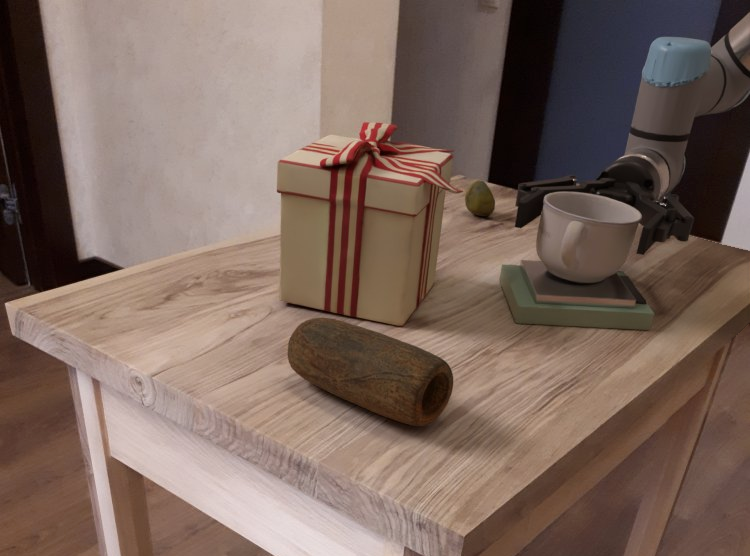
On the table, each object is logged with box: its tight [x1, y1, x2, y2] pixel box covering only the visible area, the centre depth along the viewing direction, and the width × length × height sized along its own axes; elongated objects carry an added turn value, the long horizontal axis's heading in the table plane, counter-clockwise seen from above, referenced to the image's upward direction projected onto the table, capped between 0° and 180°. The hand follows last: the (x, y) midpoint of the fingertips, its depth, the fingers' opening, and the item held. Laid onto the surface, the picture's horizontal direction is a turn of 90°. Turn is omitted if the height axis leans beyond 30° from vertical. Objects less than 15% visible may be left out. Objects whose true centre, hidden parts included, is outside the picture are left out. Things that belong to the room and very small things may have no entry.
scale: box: [499, 264, 655, 331], centre depth 92 cm, size 15×13×2 cm
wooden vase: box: [287, 317, 454, 427], centre depth 69 cm, size 15×7×7 cm, turn 55°
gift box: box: [276, 121, 464, 327], centre depth 87 cm, size 17×18×17 cm
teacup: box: [535, 192, 642, 283], centre depth 89 cm, size 14×11×8 cm
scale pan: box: [519, 259, 636, 309], centre depth 91 cm, size 11×11×1 cm
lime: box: [464, 179, 496, 217], centre depth 117 cm, size 4×5×5 cm
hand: (579, 228), depth 85 cm, fingers open, 13 cm apart
